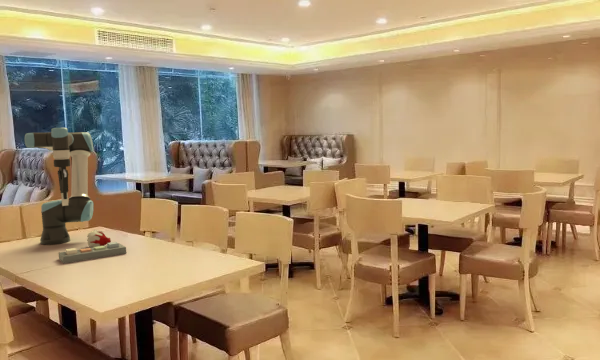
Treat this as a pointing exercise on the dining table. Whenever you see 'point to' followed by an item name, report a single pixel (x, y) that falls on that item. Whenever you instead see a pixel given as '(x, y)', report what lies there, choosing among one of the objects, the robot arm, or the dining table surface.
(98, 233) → the candle
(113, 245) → the key greyblue
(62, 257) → the keypad
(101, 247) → the key sage
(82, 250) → the key terracotta
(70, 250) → the key ivory
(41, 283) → the dining table surface
